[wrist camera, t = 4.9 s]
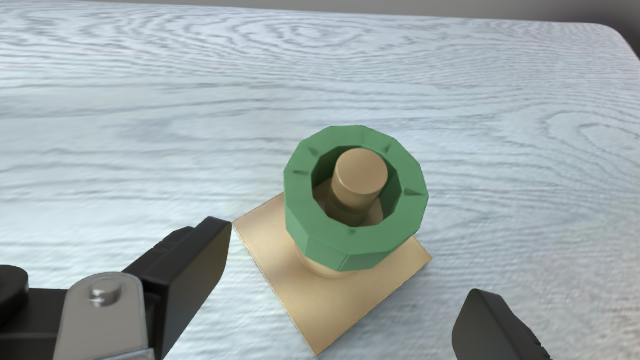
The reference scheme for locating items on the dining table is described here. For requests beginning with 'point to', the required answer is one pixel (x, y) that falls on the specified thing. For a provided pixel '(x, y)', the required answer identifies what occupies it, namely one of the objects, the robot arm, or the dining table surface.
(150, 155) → the dining table surface
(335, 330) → the peg stand
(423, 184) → the ring
